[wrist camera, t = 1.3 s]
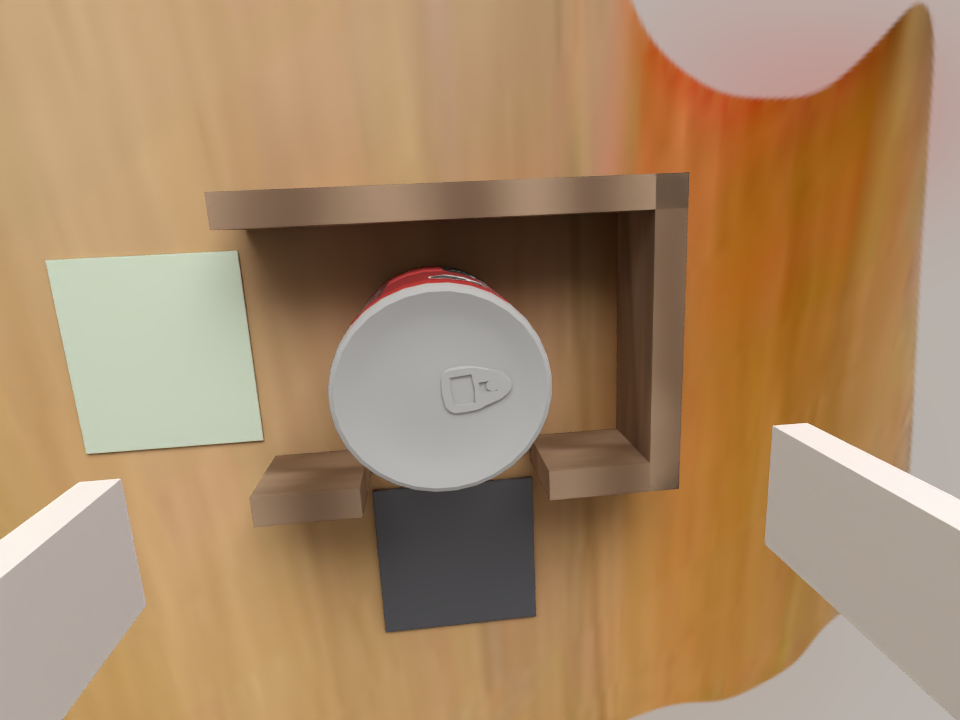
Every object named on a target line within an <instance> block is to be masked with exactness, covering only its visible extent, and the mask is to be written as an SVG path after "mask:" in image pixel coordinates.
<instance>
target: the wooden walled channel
mask: <svg viewBox="0 0 960 720" xmlns="http://www.w3.org/2000/svg"><path fill="white" fill-rule="evenodd" d="M688 198H689V172H687V173H662V174H638V175H613V176H589V177H564V178H539V179H515V180H490V181H466V182H441V183H417V184H392V185H368V186H343V187H319V188H294V189H270V190H245V191H220V192H205V199H206V206H207V213H208V219H209V226H210V230H250V229H271V228H293V227H314V226H336V225H357V224H379V223H400V222H422V221H443V220H465V219H486V218H508V217H529V216H551V215H572V214H594V213H615V212H618V272H617V417H616V429H607V430H594V431H582V432H570V433H557V434H545V435H538V437H537V438H536V440H535V441H534V442H533V444H532V445H531V447H530V448H531V462H532V464H533V466H534V468H535V470H536V472H537V474H538V476H539V479H540V481H541V483H542V485H543V487H544V489H545V491H546V493H547V495H548V497H549V499H550V500H560V499H571V498H582V497H593V496H604V495H615V494H626V493H637V492H648V491H659V490H670V489H679V468H680V438H681V408H682V378H683V348H684V318H685V288H686V258H687V228H688ZM370 478H371V471H370V470H369V469H368V468H366V467H365V466H364V465H362V464H361V463H360V462H359V461H358V460H357V459H356V458H355V457H354V456H353V454H352V453H351V452H350V451H349V450H345V451H333V452H320V453H308V454H295V455H283V456H275V458H274V460H273V461H272V463H271V464H270V466H269V468H268V469H267V471H266V472H265V474H264V475H263V477H262V479H261V480H260V482H259V483H258V485H257V486H256V488H255V490H254V491H253V493H252V494H251V496H250V504H251V511H252V518H253V524H254V527H261V526H272V525H283V524H294V523H305V522H316V521H327V520H338V519H349V518H361V517H363V513H364V508H365V503H366V498H367V493H368V488H369V483H370Z"/></svg>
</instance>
